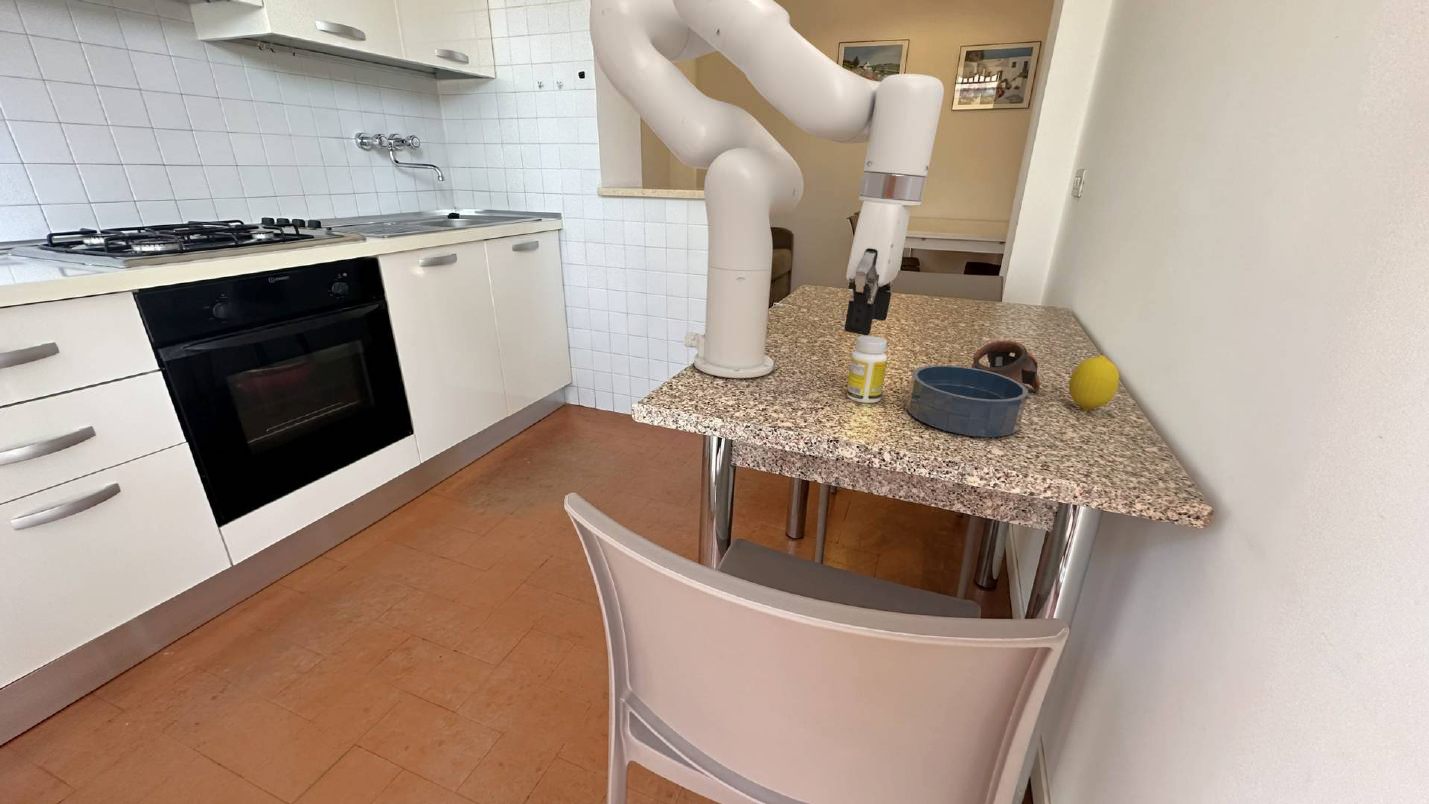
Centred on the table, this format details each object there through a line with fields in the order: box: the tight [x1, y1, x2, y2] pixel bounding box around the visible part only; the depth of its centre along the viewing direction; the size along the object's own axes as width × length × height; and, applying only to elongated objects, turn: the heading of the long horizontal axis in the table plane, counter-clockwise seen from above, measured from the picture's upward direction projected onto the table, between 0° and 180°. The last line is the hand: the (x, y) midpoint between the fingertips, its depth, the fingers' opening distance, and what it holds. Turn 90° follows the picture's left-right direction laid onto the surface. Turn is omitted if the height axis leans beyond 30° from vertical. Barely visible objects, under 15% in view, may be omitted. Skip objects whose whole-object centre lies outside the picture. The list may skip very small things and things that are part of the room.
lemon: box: [1068, 354, 1120, 412], centre depth 78 cm, size 6×6×8 cm
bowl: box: [906, 364, 1029, 438], centre depth 74 cm, size 14×14×5 cm
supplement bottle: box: [846, 335, 888, 404], centre depth 78 cm, size 5×5×8 cm
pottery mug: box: [971, 340, 1041, 395], centre depth 86 cm, size 12×10×8 cm
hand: (865, 325), depth 77 cm, fingers open, 9 cm apart
